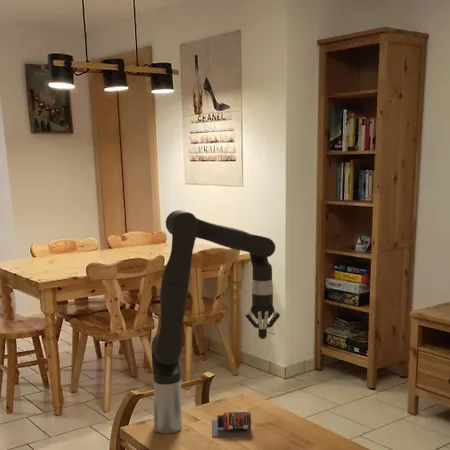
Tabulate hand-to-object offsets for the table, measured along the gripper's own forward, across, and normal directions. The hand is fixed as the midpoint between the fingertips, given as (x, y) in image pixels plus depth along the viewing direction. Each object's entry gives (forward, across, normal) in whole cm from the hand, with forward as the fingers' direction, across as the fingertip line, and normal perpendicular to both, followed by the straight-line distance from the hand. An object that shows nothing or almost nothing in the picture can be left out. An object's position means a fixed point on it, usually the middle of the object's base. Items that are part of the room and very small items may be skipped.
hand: (262, 338), depth 204 cm
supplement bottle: (+24, -6, -16) cm, 29 cm away
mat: (+27, -13, -14) cm, 33 cm away
